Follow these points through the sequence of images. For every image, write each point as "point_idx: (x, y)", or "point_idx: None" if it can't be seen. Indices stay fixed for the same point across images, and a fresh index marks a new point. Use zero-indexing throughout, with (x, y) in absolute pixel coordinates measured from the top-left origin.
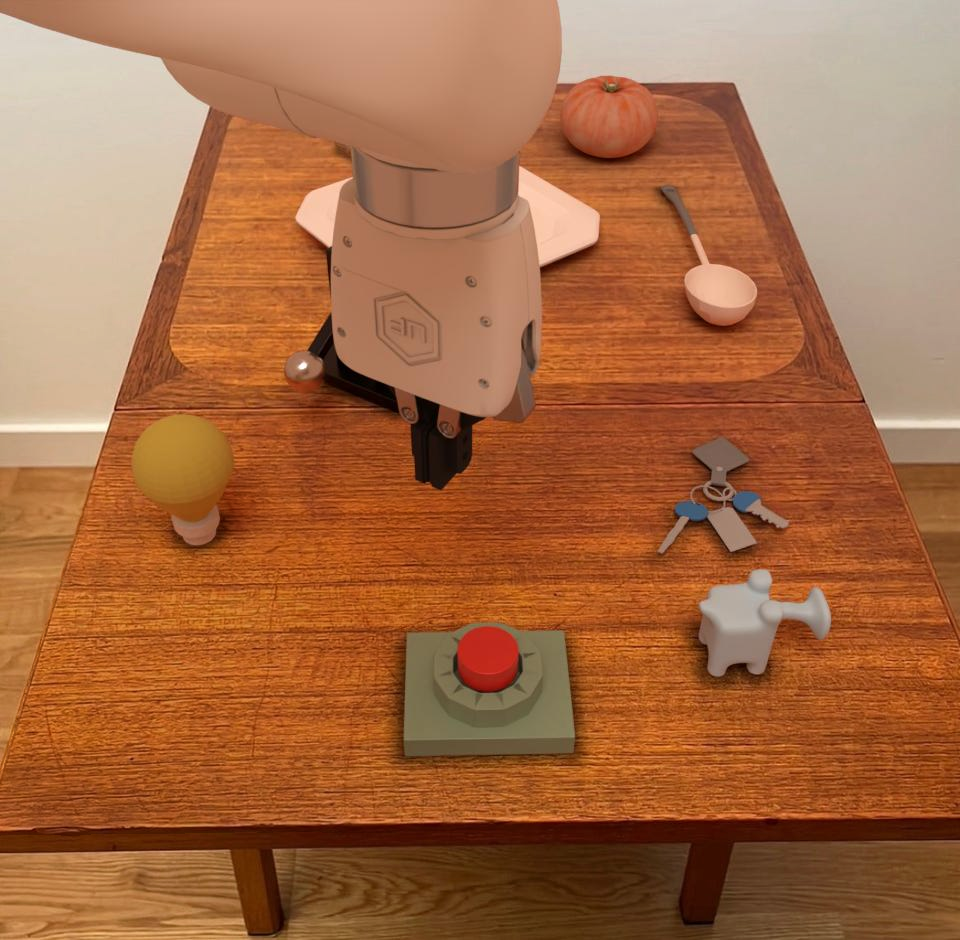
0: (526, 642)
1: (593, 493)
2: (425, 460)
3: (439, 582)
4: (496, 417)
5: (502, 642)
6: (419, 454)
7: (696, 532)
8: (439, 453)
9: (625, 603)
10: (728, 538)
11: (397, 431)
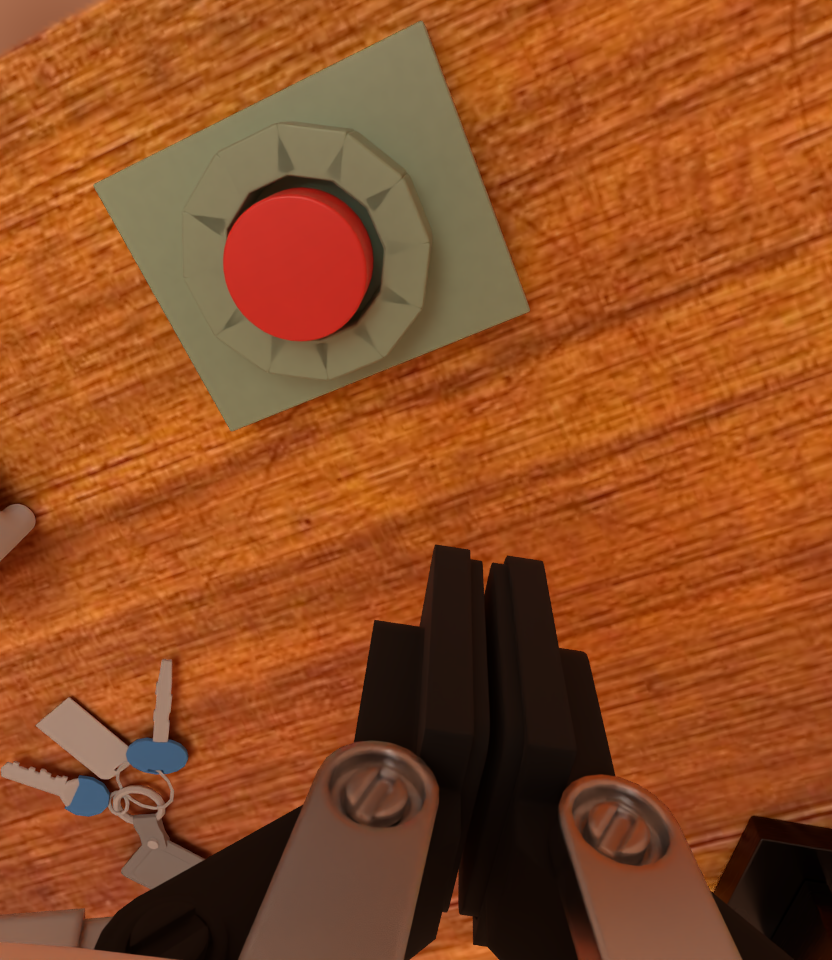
0: (253, 349)
1: (337, 745)
2: (501, 627)
3: (527, 476)
4: (55, 927)
5: (272, 302)
6: (529, 642)
7: (141, 718)
8: (428, 663)
9: (183, 543)
10: (82, 721)
11: (739, 778)
